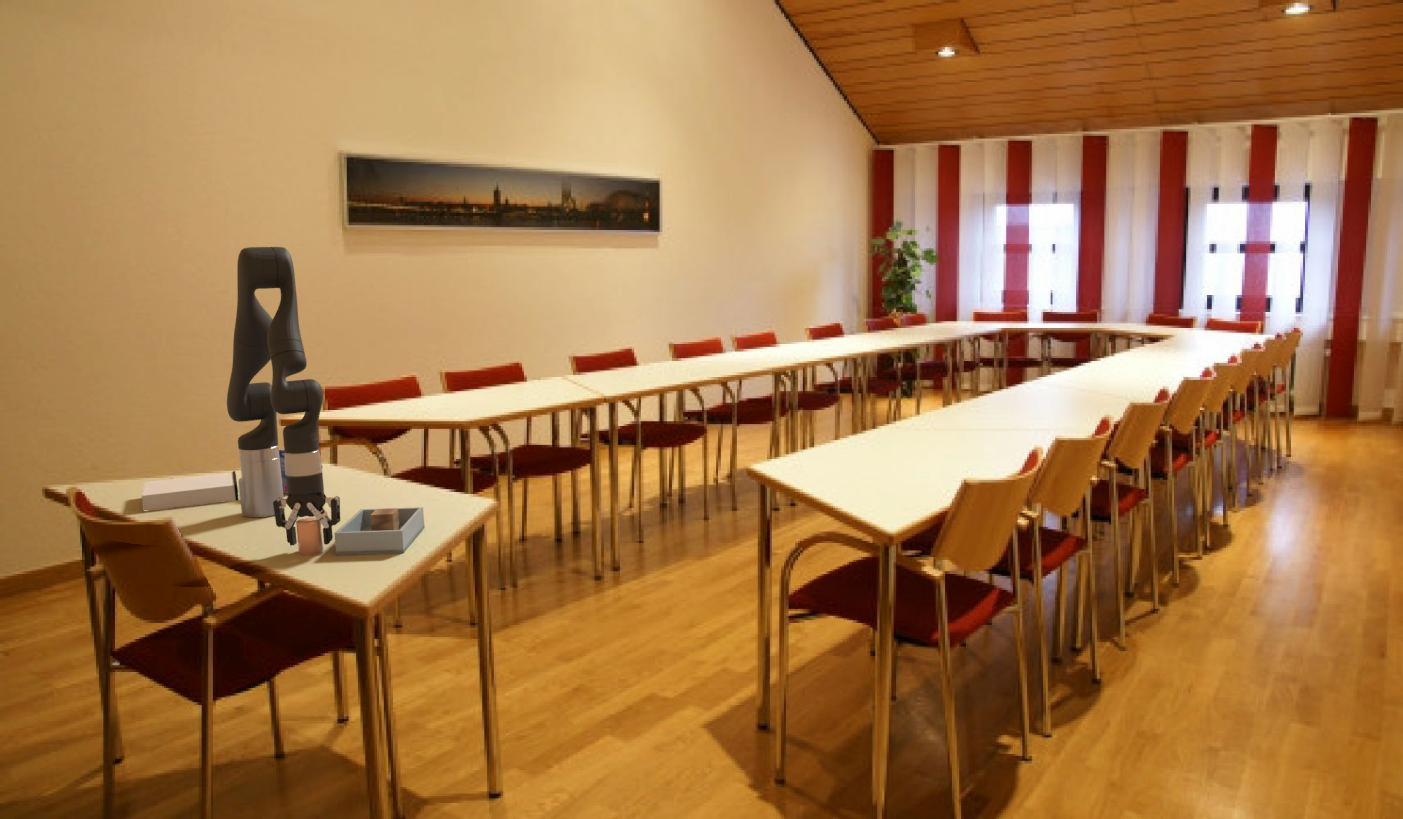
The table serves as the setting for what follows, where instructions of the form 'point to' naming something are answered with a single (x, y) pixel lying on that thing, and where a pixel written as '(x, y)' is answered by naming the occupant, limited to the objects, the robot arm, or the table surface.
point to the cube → (385, 519)
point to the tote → (378, 533)
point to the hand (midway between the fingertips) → (310, 543)
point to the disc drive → (189, 491)
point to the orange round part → (309, 536)
